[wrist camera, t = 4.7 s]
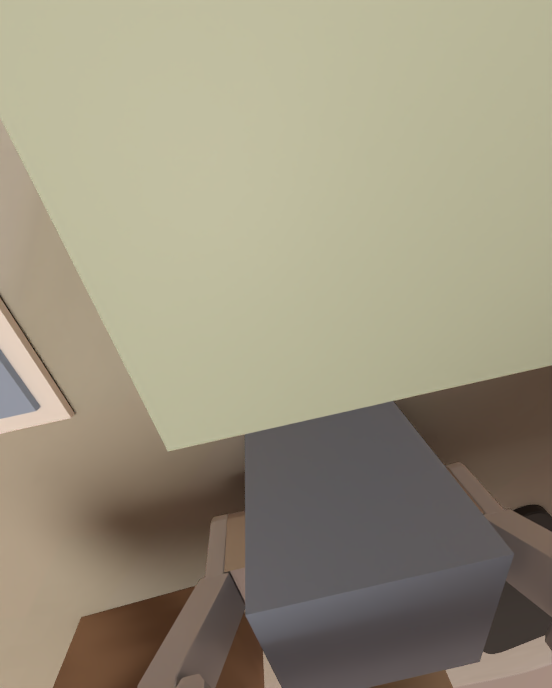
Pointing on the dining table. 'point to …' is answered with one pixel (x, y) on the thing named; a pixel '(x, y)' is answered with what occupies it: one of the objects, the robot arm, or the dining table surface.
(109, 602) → the dining table surface
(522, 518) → the robot arm
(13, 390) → the tile
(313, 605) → the slate block
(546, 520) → the phone
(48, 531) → the dining table surface
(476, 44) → the sage block
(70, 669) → the walnut base
